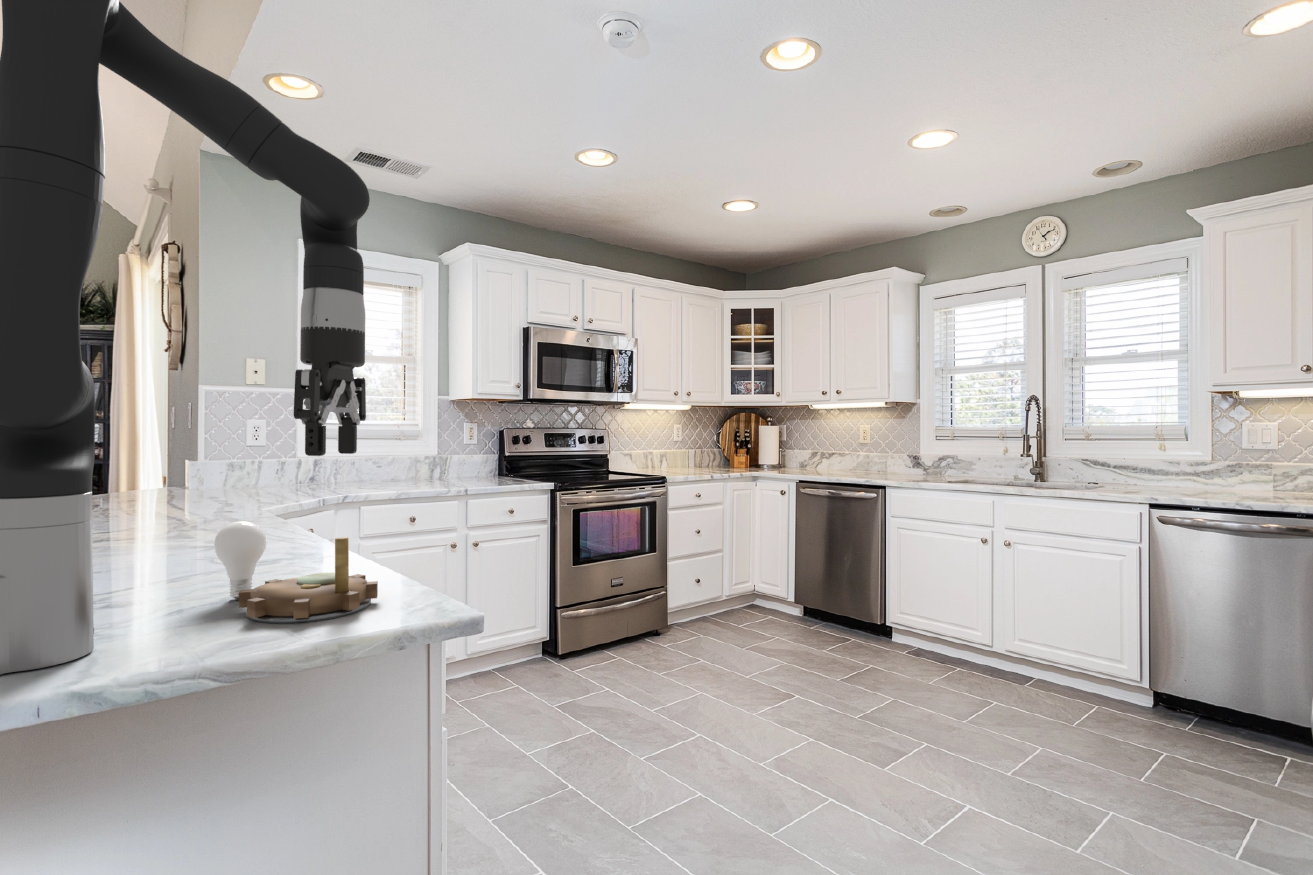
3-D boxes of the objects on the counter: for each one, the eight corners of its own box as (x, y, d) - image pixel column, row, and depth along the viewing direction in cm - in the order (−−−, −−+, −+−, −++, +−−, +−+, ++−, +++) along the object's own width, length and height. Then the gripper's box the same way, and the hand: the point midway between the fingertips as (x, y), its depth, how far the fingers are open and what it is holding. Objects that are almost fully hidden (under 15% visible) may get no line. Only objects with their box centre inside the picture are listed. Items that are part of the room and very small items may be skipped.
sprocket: (295, 625, 81) (295, 550, 81) (209, 608, 89) (209, 539, 88) (403, 594, 96) (403, 530, 96) (322, 582, 104) (322, 522, 103)
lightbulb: (225, 607, 92) (225, 525, 92) (206, 599, 96) (206, 521, 96) (275, 598, 97) (274, 520, 97) (255, 591, 101) (254, 516, 101)
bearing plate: (297, 629, 82) (297, 625, 82) (220, 613, 89) (220, 610, 89) (395, 601, 96) (395, 597, 96) (321, 589, 102) (321, 585, 102)
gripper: (336, 320, 81) (334, 457, 81) (385, 336, 95) (383, 453, 95) (272, 319, 81) (271, 456, 81) (331, 335, 95) (330, 452, 96)
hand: (332, 454), depth 88 cm, fingers open, 8 cm apart
